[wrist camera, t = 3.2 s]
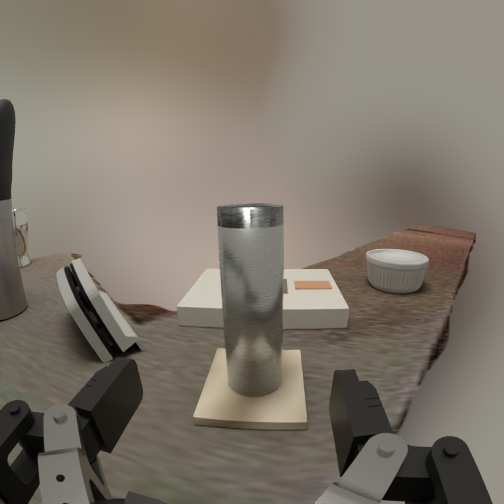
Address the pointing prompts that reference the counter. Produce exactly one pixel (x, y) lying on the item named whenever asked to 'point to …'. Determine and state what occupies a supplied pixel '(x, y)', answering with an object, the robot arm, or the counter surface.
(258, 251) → the grey capped tube
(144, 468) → the counter surface
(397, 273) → the ramekin
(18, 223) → the beer glass
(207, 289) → the hole plate
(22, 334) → the counter surface
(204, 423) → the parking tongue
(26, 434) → the robot arm
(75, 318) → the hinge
